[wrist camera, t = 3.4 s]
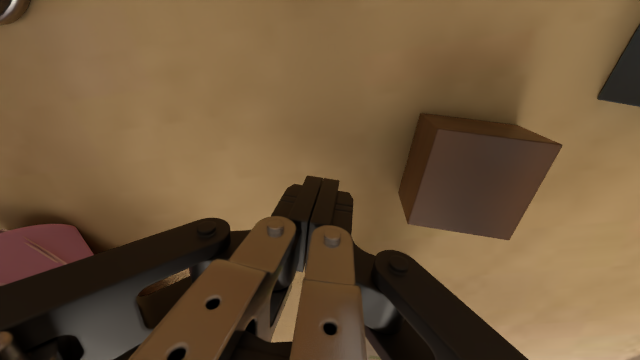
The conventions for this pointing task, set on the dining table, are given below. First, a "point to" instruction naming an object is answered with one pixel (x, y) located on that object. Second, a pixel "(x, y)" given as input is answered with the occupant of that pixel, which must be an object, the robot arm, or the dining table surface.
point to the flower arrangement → (38, 250)
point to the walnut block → (473, 175)
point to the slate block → (625, 76)
